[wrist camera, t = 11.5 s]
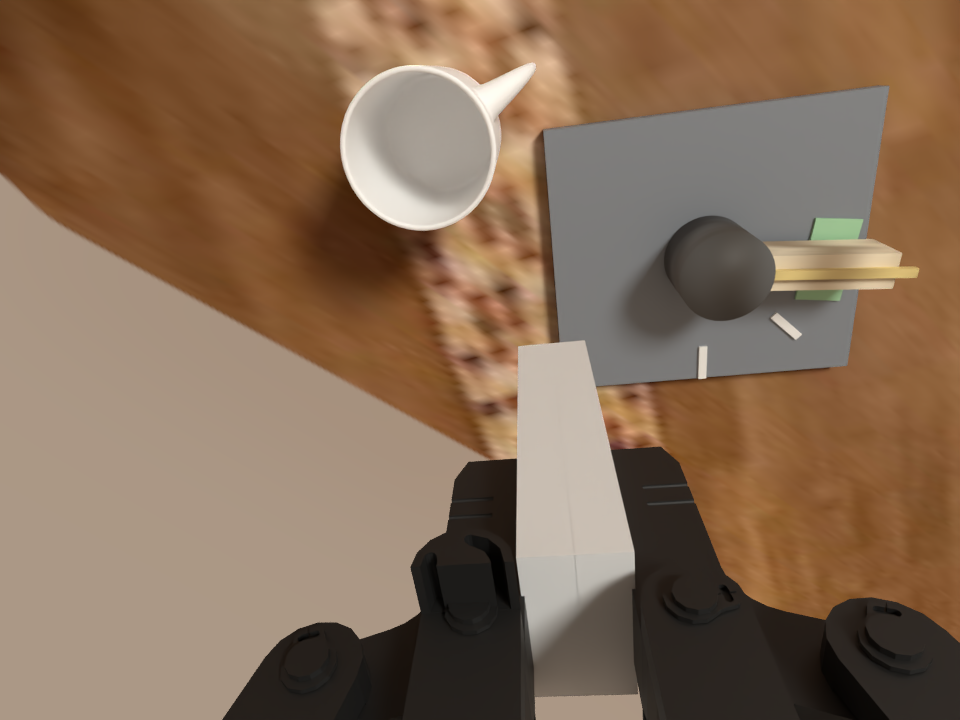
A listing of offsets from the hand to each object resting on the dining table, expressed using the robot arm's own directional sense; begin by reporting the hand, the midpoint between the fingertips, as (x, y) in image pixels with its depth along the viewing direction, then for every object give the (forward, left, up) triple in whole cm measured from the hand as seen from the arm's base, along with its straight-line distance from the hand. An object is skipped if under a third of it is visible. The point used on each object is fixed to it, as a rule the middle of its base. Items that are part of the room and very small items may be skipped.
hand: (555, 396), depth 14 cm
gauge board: (+7, +12, -32) cm, 35 cm away
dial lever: (+7, +16, -31) cm, 36 cm away
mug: (-4, -5, -33) cm, 33 cm away
